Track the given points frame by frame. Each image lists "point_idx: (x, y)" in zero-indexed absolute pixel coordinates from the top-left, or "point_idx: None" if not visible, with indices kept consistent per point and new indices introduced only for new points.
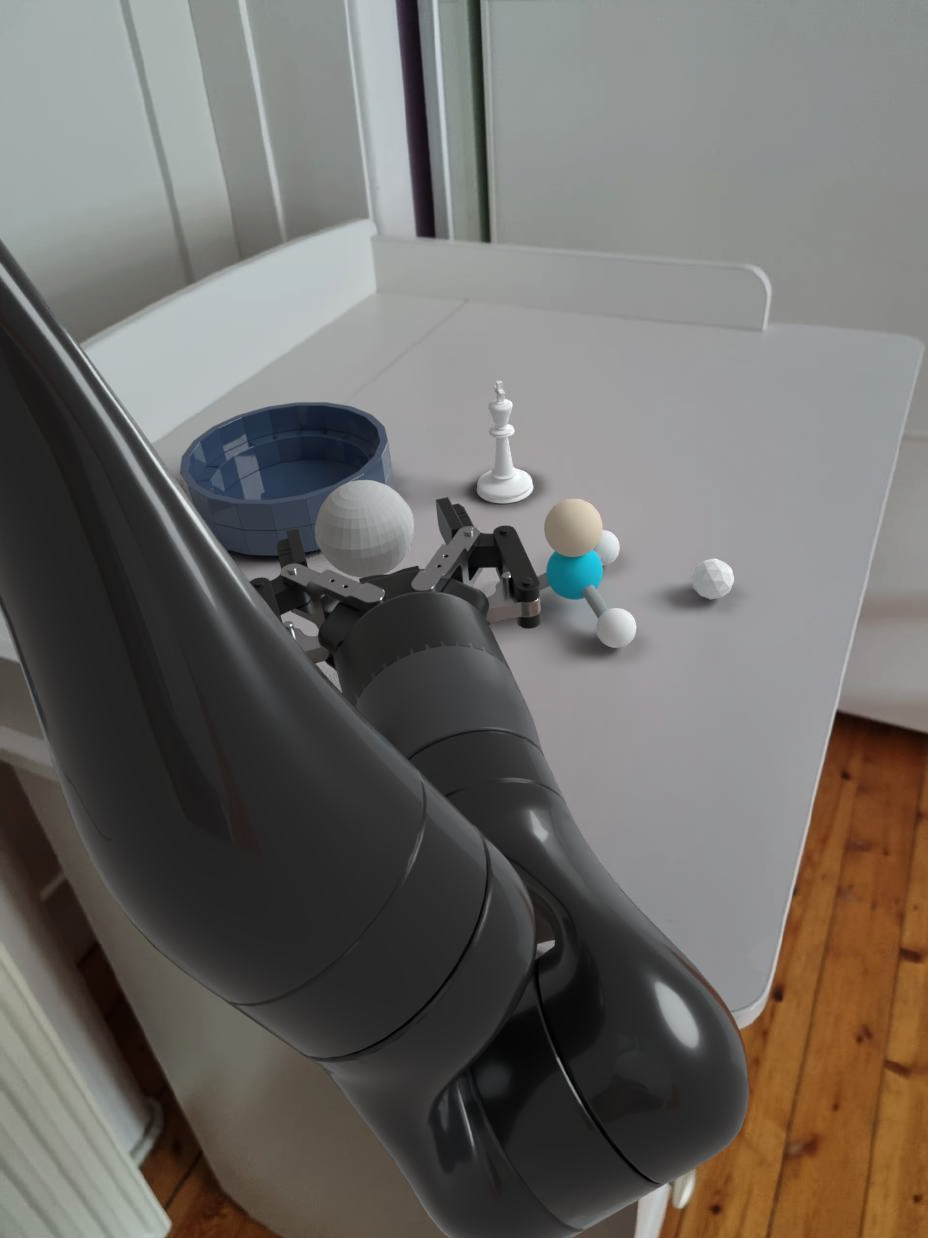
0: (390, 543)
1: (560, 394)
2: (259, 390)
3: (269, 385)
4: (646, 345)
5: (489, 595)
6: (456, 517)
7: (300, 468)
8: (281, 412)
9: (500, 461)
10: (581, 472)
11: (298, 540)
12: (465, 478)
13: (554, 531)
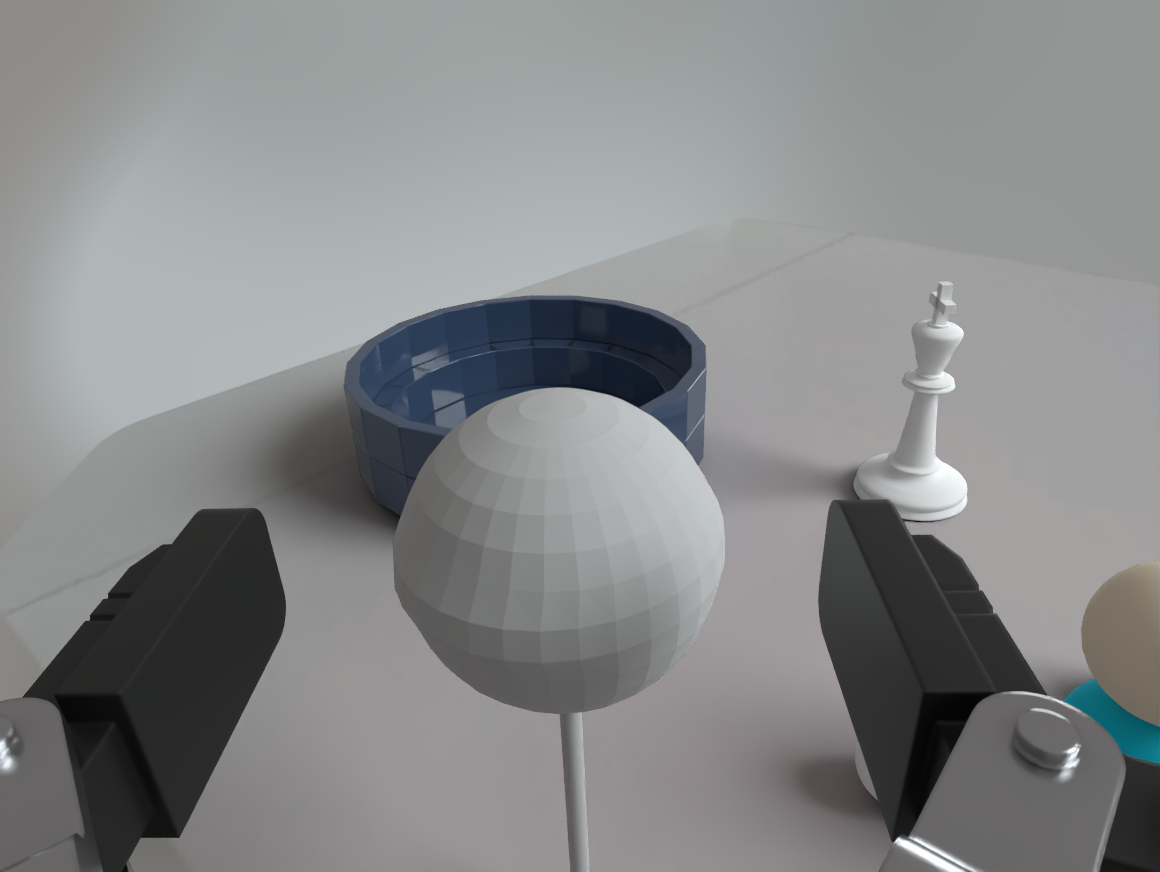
0: (620, 628)
1: (1003, 356)
2: (548, 294)
3: (563, 291)
4: (1144, 309)
5: None
6: (944, 613)
7: None
8: (548, 307)
9: (913, 439)
10: (1064, 488)
11: (195, 566)
12: (832, 460)
13: (1136, 650)
